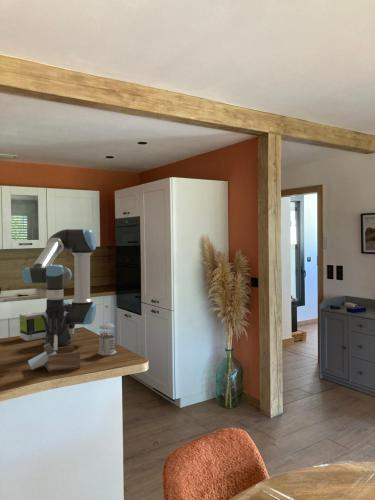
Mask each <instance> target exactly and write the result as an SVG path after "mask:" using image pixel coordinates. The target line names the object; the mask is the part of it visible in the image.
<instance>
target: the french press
mask: <svg viewBox="0 0 375 500" xmlns="http://www.w3.org/2000/svg"><path fill="white" fill-rule="evenodd" d="M104 307H105V308H110V307H109V305H108V304H106V305H105V306H104ZM115 327H116V326H115V325H114V324H113V323H108V322H106V323H102V324H100V325H99V327H98V328H99V329H101V331H100V332H99V337H98V339H99V341H98V343H99V350H98V351H97V355H101V356H110V355H115V354H116V353H117V351H116V350H115V334H114V332H108V331H105V330H110V329H113V328H115ZM102 329H103V330H102Z"/></svg>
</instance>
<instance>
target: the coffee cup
mask: <svg viewBox="0 0 375 500" xmlns="http://www.w3.org/2000/svg"><path fill="white" fill-rule="evenodd" d="M75 325H76V324H69V330H70V333H71V336H72V335H74V334H75V327H76V326H75Z"/></svg>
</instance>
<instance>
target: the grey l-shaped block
mask: <svg viewBox="0 0 375 500" xmlns="http://www.w3.org/2000/svg"><path fill="white" fill-rule="evenodd" d="M42 347H43V348H44V349H45V352H44V351H43V352H41V353H40V354H37V355H36V356H34V357H32V358H30V359H29V360H27V363H28V365H29V366H30V367H29V368H30V369H31V371H33V370H34V369H36V368H38V367H40V366H42V365H44V363H46V362H47V361H48V356H49V355H57V353H56V352H55V350H54V349H53V346H51V344H50V343H47V344H44V345H42ZM44 349H43V350H44Z"/></svg>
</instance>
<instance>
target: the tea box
mask: <svg viewBox="0 0 375 500" xmlns="http://www.w3.org/2000/svg"><path fill="white" fill-rule="evenodd" d="M43 313H45V311H44V310H41V311H36V312H35V311H34V312H28V313H27V312H26V313H21V314H19V337H20V339H21V338H22V340H24V341H26V342H28V341H29V342H30V341H35V340H40V339H45V337H46V334H47V333H46V329H45V326H44V322H43V319H42V317H41V316H40V315H41V314H43ZM46 316H47V317H46V320H47V324H48V315H46Z"/></svg>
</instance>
